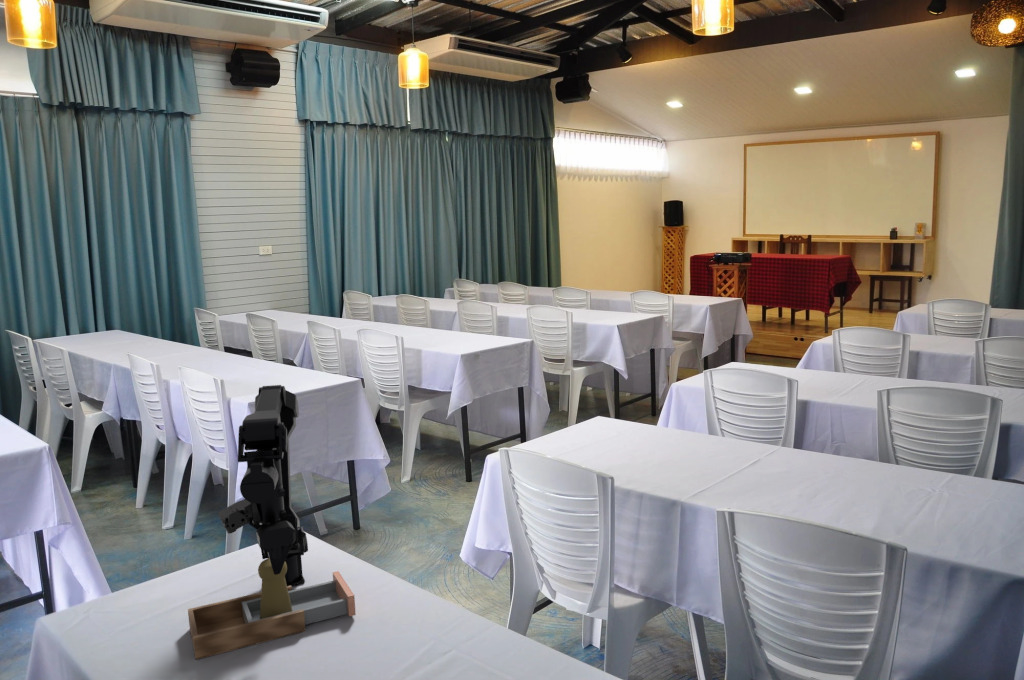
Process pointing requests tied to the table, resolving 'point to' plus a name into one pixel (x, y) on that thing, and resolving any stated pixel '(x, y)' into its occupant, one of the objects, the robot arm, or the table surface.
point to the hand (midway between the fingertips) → (272, 564)
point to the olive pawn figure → (273, 591)
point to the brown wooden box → (237, 626)
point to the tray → (312, 601)
